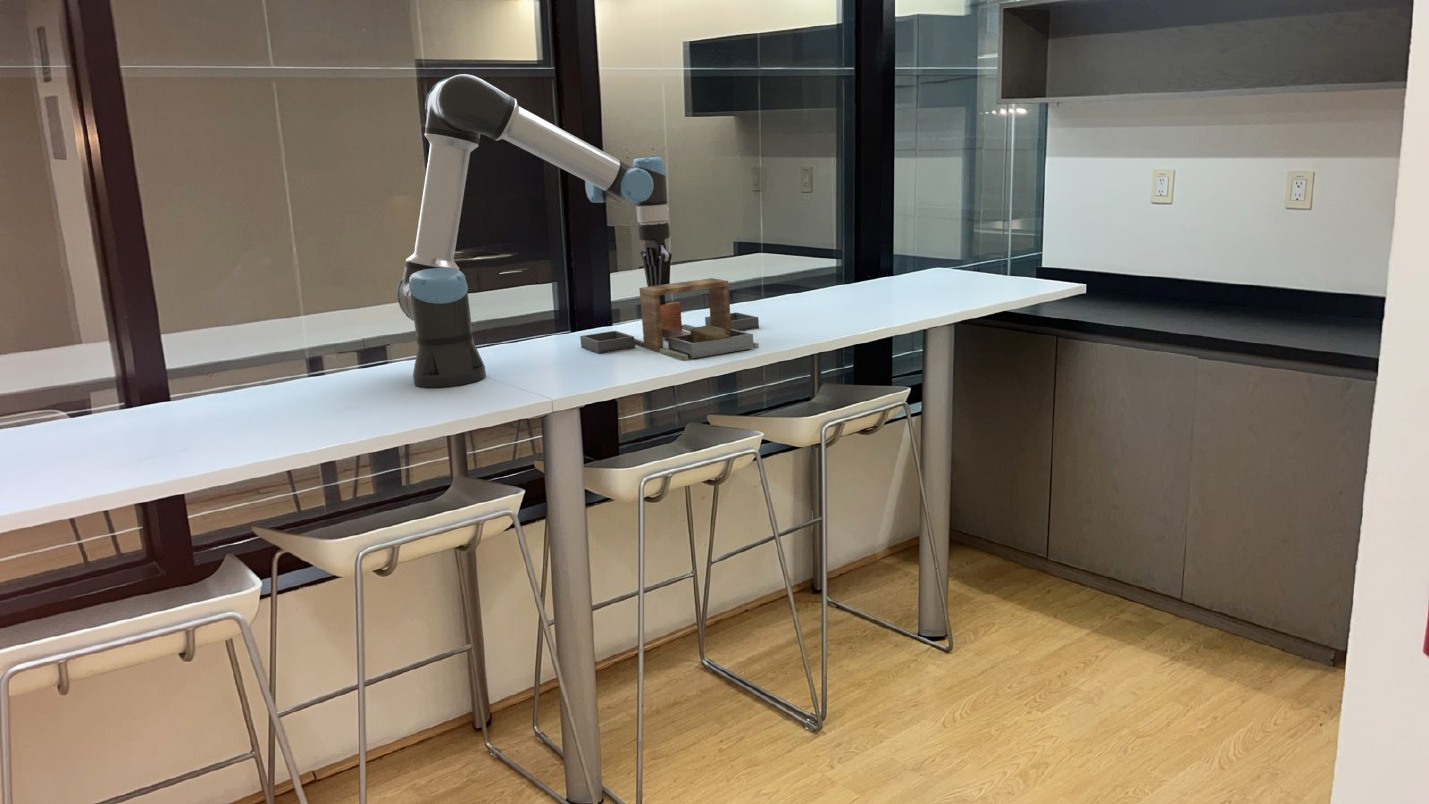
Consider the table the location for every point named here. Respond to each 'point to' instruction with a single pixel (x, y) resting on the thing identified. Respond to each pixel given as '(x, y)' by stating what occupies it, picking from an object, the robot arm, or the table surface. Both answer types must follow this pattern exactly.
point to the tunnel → (654, 328)
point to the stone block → (708, 333)
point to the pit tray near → (607, 342)
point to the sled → (683, 344)
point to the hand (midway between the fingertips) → (660, 319)
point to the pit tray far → (740, 321)
